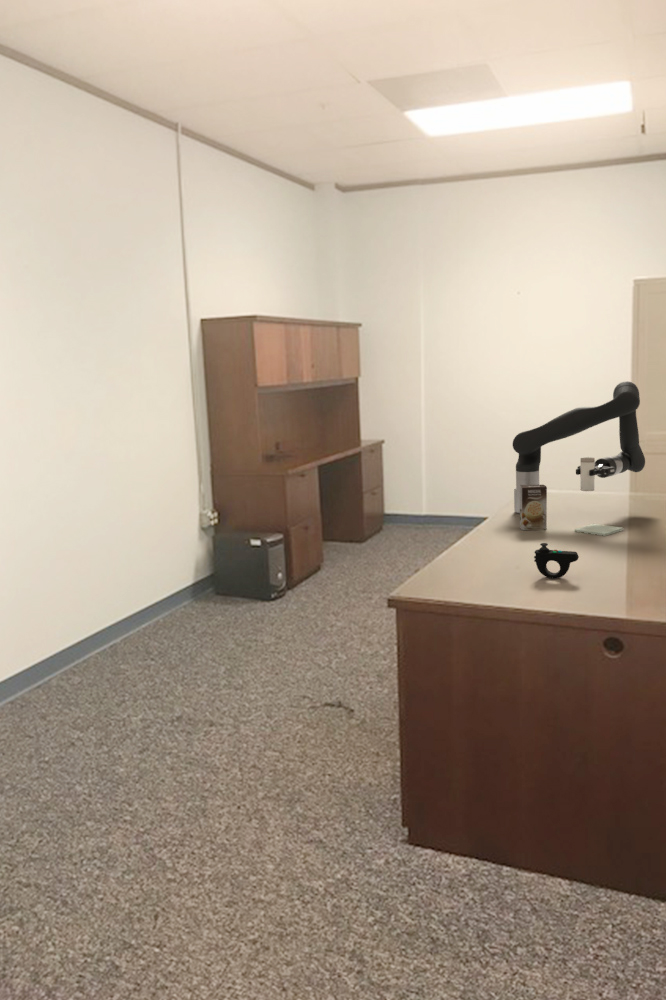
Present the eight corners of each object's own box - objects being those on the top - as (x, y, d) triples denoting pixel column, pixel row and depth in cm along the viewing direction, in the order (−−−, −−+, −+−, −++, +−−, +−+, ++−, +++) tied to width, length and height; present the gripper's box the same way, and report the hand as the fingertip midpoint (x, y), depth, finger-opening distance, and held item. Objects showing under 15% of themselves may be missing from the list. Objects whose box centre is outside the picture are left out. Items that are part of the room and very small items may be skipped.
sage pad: (574, 531, 286) (574, 529, 286) (593, 525, 294) (593, 523, 294) (604, 535, 277) (604, 533, 277) (623, 529, 285) (623, 527, 285)
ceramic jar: (577, 490, 298) (577, 458, 296) (585, 488, 302) (585, 457, 299) (589, 491, 295) (589, 459, 292) (597, 489, 298) (597, 458, 296)
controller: (536, 574, 234) (535, 541, 232) (579, 577, 228) (579, 543, 227) (533, 578, 230) (532, 544, 228) (577, 581, 224) (577, 547, 223)
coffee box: (521, 530, 293) (521, 487, 290) (519, 527, 299) (518, 484, 296) (547, 529, 292) (546, 486, 289) (544, 526, 298) (544, 483, 295)
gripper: (625, 477, 301) (600, 484, 290) (591, 474, 312) (566, 480, 301) (625, 458, 300) (600, 463, 289) (591, 455, 311) (566, 461, 300)
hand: (583, 472), depth 295 cm, fingers closed on ceramic jar, 5 cm apart
